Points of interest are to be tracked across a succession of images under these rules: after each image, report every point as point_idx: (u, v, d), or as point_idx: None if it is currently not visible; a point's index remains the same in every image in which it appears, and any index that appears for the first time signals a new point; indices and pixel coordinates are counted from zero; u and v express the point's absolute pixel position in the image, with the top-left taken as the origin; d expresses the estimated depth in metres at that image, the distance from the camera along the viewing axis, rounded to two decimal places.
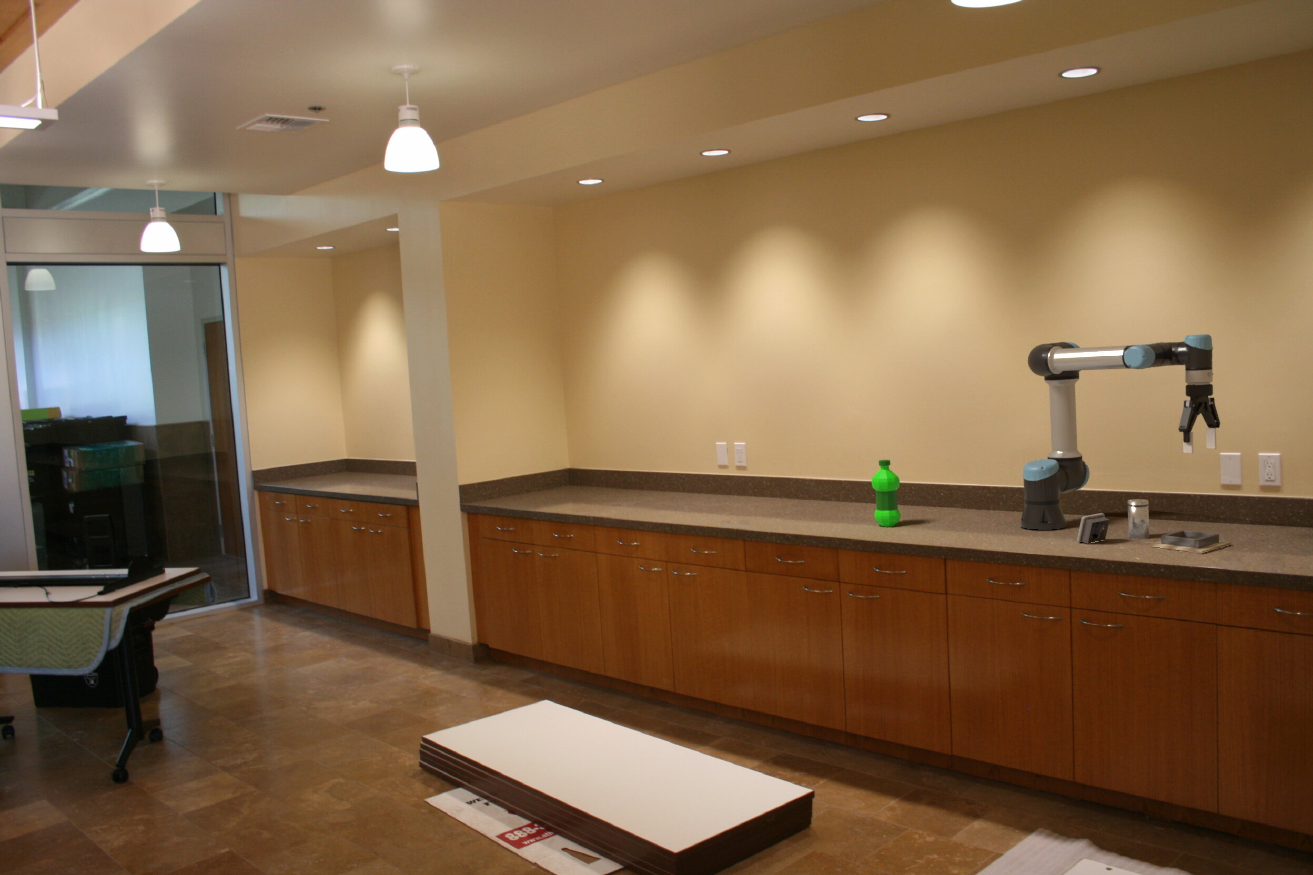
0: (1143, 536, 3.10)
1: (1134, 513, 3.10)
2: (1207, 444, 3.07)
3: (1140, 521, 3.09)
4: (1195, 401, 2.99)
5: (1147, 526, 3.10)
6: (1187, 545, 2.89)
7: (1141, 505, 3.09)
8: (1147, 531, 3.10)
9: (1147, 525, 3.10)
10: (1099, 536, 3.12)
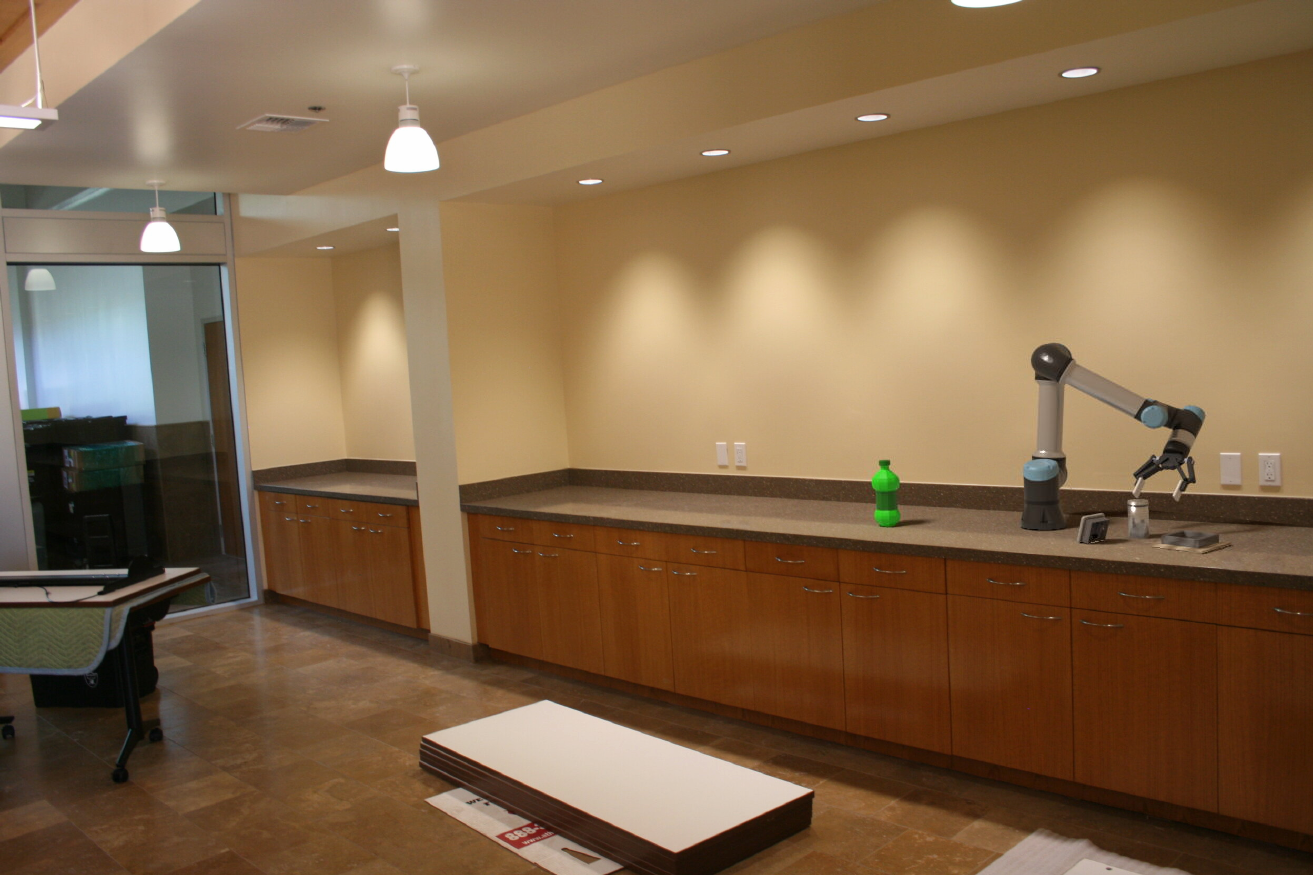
0: (1143, 536, 3.10)
1: (1134, 513, 3.10)
2: (1136, 490, 3.20)
3: (1140, 521, 3.09)
4: None
5: (1147, 526, 3.10)
6: (1187, 545, 2.89)
7: (1141, 505, 3.09)
8: (1147, 531, 3.10)
9: (1147, 525, 3.10)
10: (1099, 536, 3.12)
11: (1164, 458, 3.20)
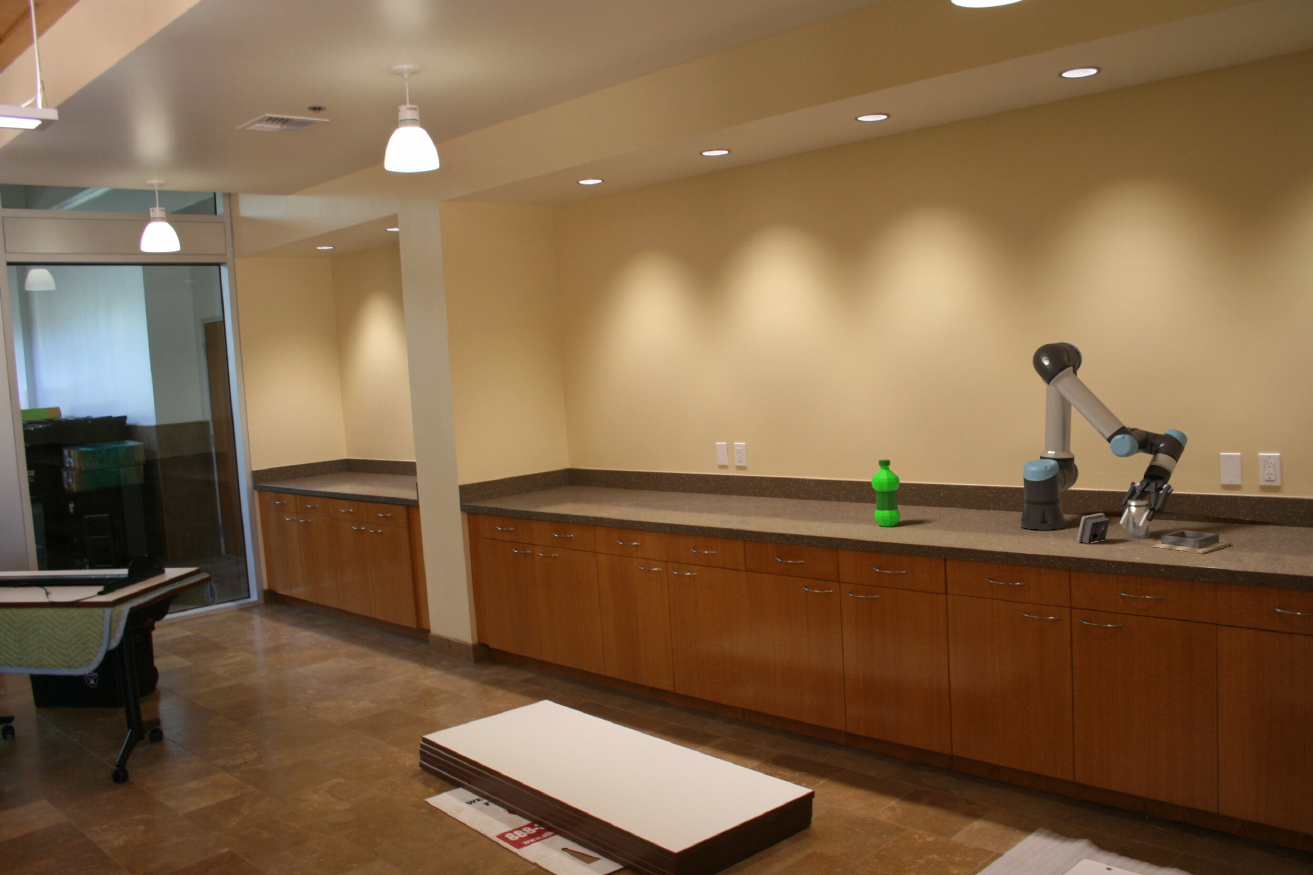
0: (1143, 536, 3.10)
1: (1134, 513, 3.10)
2: (1123, 520, 3.13)
3: (1140, 521, 3.09)
4: None
5: (1147, 526, 3.10)
6: (1187, 545, 2.89)
7: (1141, 505, 3.09)
8: (1147, 531, 3.10)
9: (1147, 525, 3.10)
10: (1099, 536, 3.12)
11: (1145, 483, 3.16)
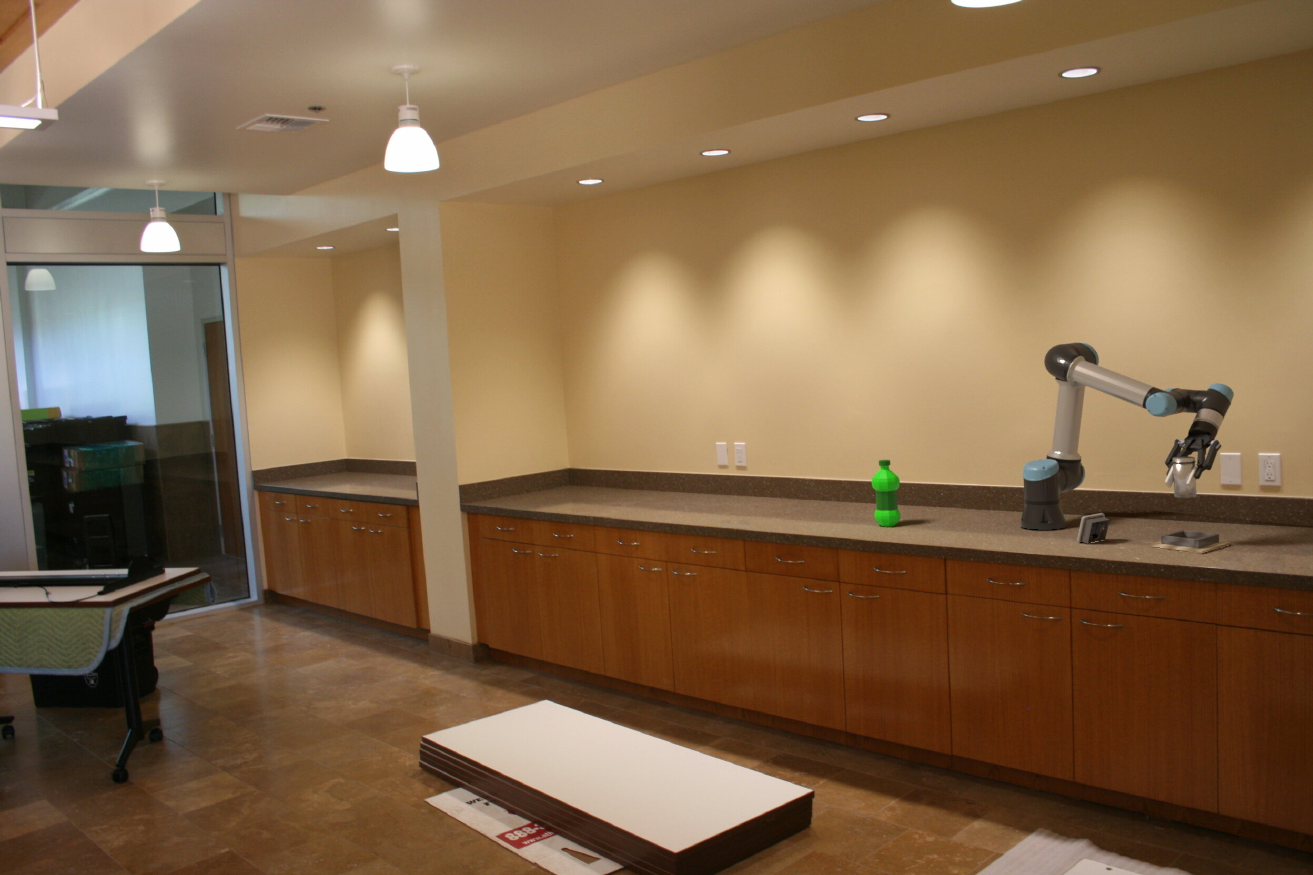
0: (1190, 495, 2.92)
1: (1180, 471, 2.92)
2: (1168, 479, 2.95)
3: (1187, 479, 2.91)
4: None
5: (1194, 484, 2.92)
6: (1187, 545, 2.89)
7: (1188, 462, 2.91)
8: (1194, 490, 2.92)
9: None
10: (1099, 536, 3.12)
11: (1190, 439, 2.98)
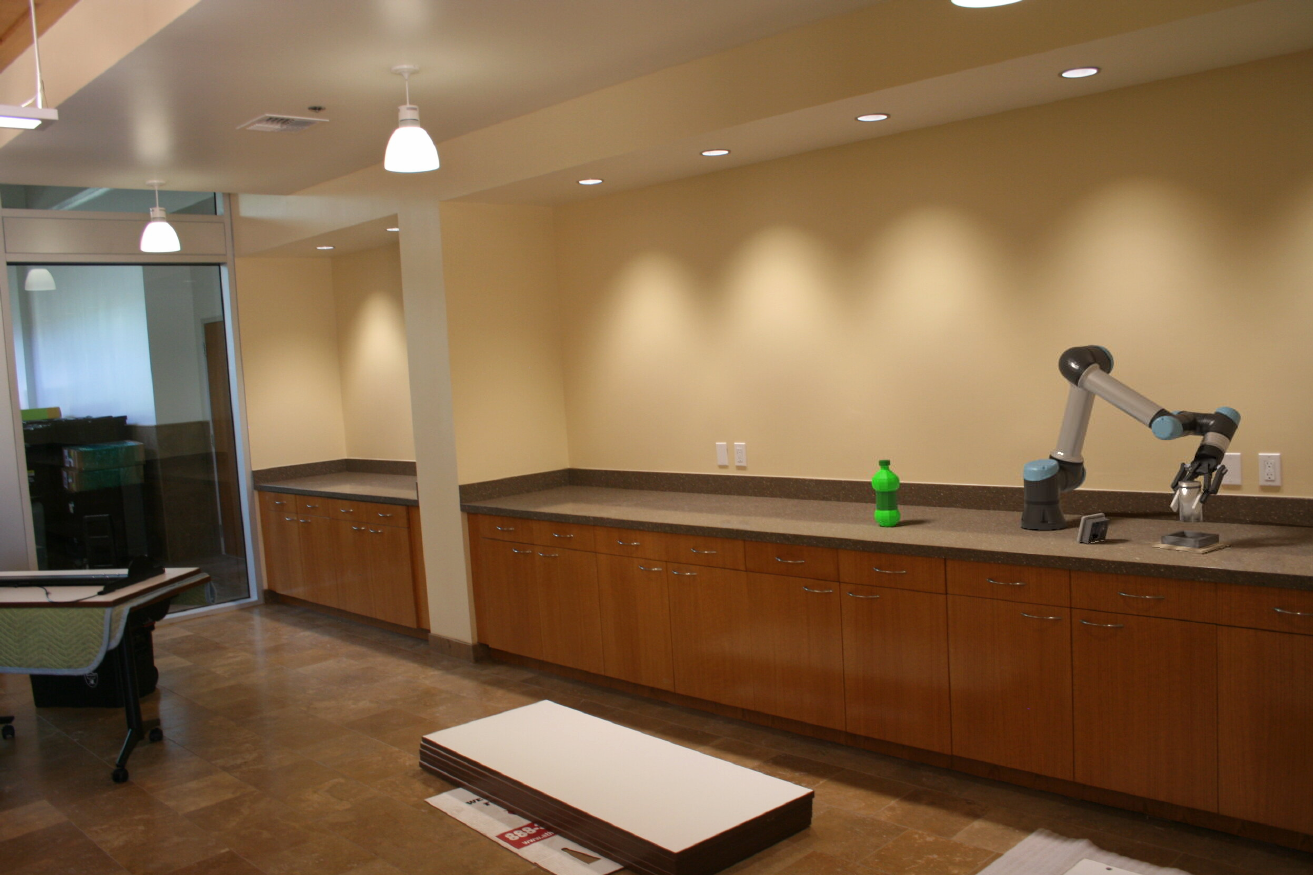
0: (1196, 520, 2.90)
1: (1186, 496, 2.91)
2: (1174, 503, 2.94)
3: (1193, 503, 2.90)
4: None
5: (1200, 509, 2.90)
6: (1187, 545, 2.89)
7: (1194, 486, 2.89)
8: (1200, 514, 2.91)
9: None
10: (1099, 536, 3.12)
11: (1197, 463, 2.96)
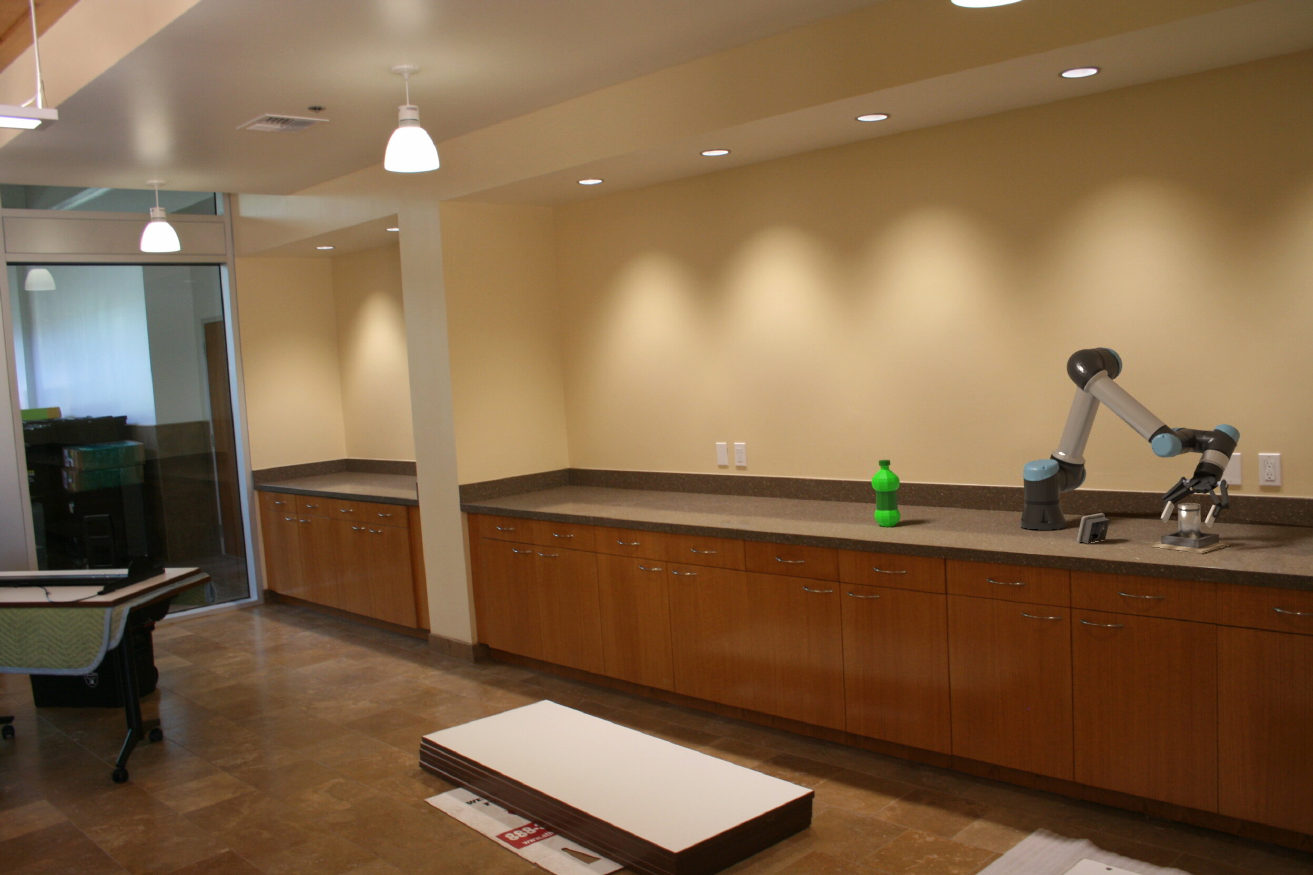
0: None
1: (1185, 518, 2.92)
2: (1164, 515, 2.98)
3: (1192, 526, 2.91)
4: None
5: (1199, 531, 2.92)
6: (1187, 545, 2.89)
7: (1193, 509, 2.90)
8: (1199, 537, 2.92)
9: (1199, 530, 2.92)
10: (1099, 536, 3.12)
11: (1195, 481, 2.97)
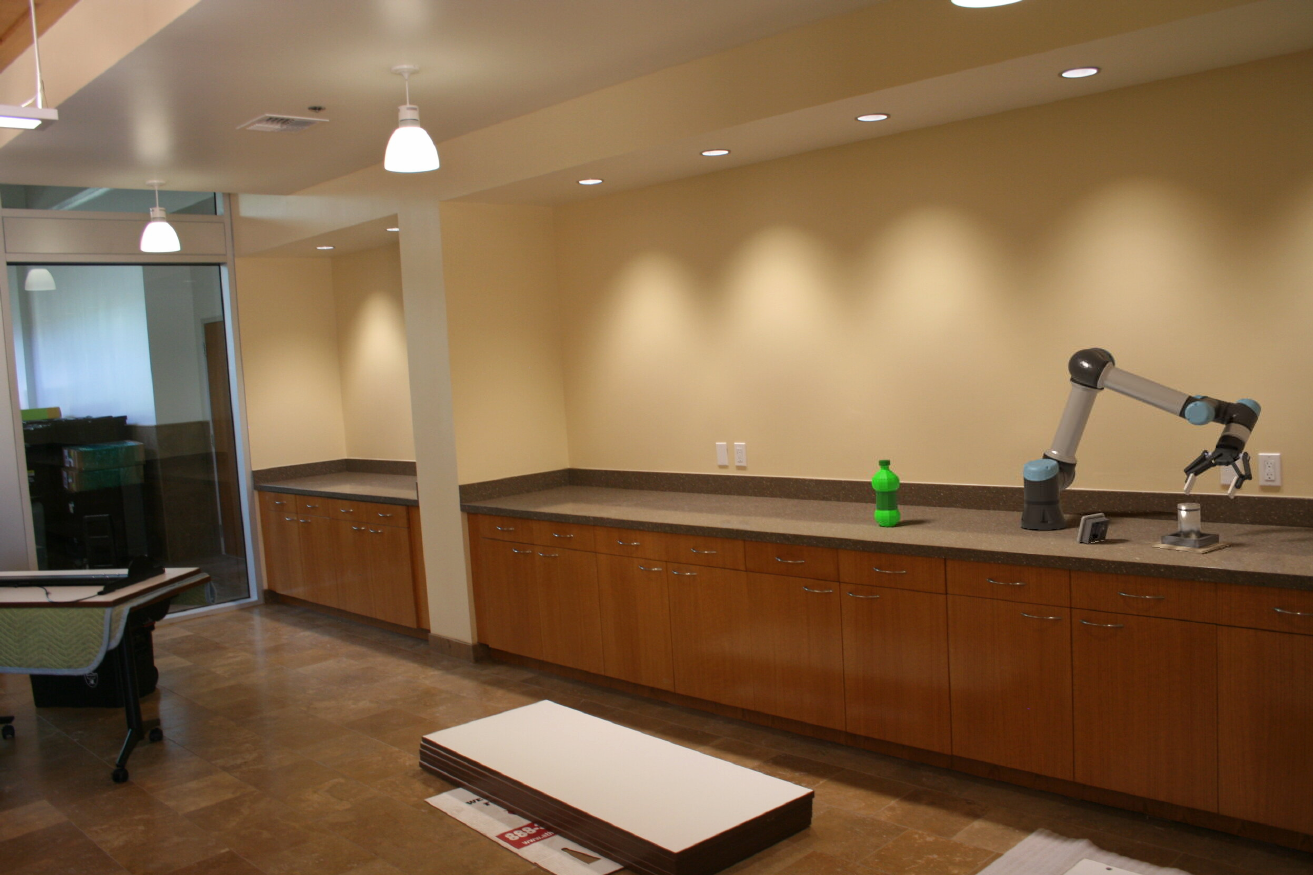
0: None
1: (1185, 518, 2.92)
2: (1187, 487, 3.04)
3: (1191, 526, 2.91)
4: None
5: (1199, 531, 2.92)
6: (1187, 545, 2.89)
7: (1193, 509, 2.90)
8: (1199, 537, 2.92)
9: (1199, 530, 2.92)
10: (1099, 536, 3.12)
11: (1217, 453, 3.03)
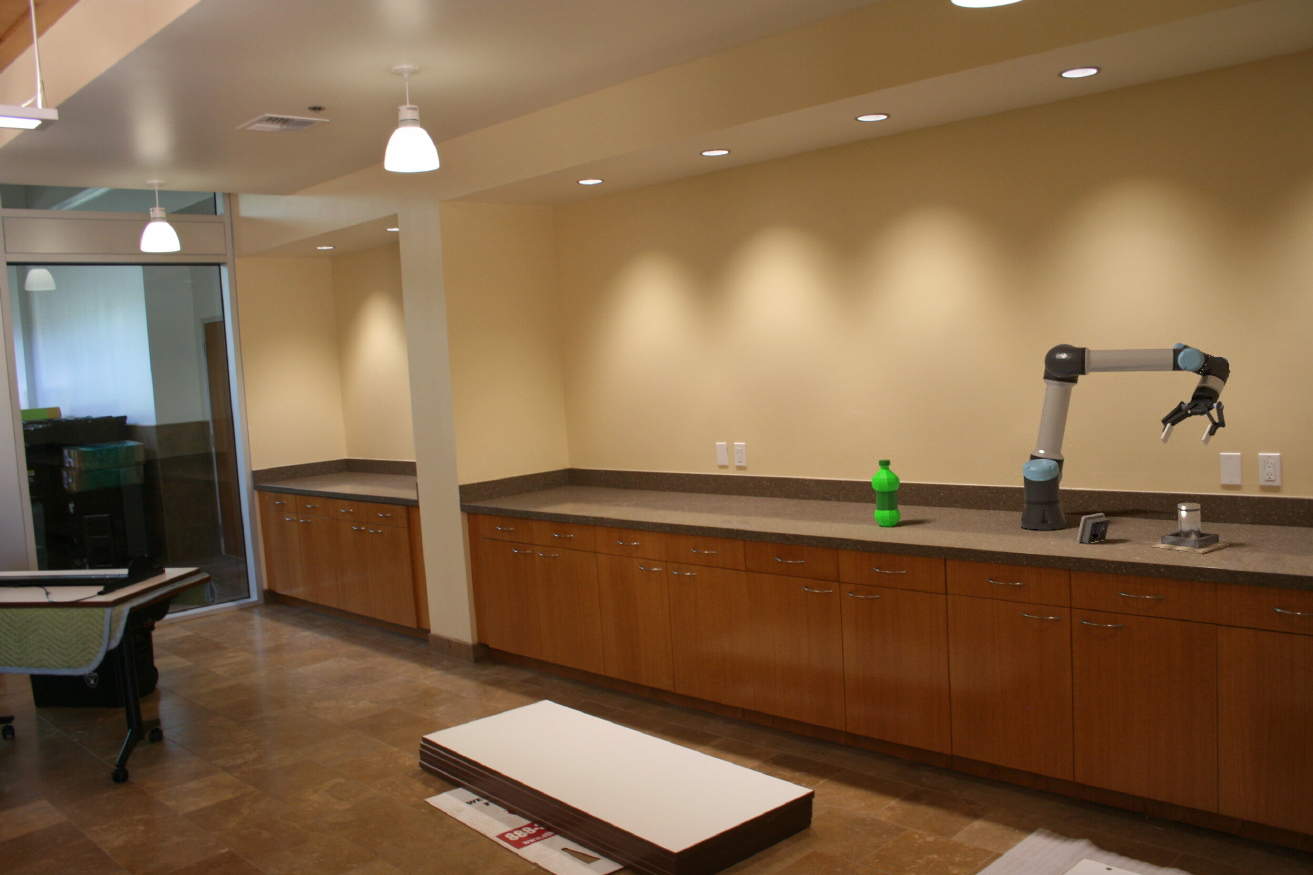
0: None
1: (1185, 518, 2.92)
2: (1164, 436, 3.19)
3: (1192, 526, 2.91)
4: None
5: (1199, 531, 2.92)
6: (1187, 545, 2.89)
7: (1193, 509, 2.90)
8: (1199, 537, 2.92)
9: (1199, 530, 2.92)
10: (1099, 536, 3.12)
11: (1193, 404, 3.18)
